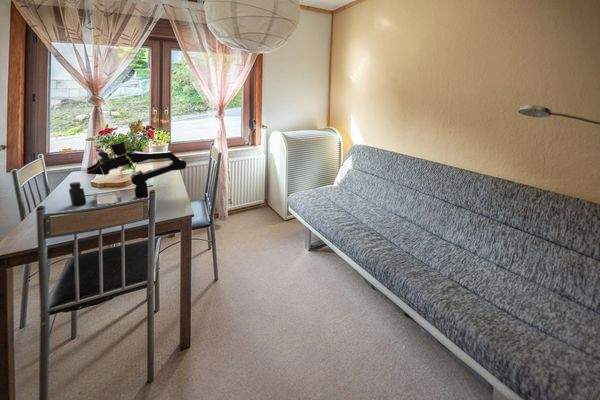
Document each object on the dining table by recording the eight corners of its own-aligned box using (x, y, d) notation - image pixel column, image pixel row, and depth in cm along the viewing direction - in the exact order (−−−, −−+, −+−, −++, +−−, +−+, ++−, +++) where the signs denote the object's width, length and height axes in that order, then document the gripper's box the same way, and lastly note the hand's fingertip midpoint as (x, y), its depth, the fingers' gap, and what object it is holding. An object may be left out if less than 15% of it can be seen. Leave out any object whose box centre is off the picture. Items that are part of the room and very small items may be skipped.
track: (120, 196, 201) (119, 190, 200) (121, 203, 189) (121, 197, 188) (94, 199, 195) (93, 193, 194) (94, 206, 183) (93, 200, 182)
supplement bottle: (83, 201, 191) (79, 180, 187) (88, 204, 187) (84, 183, 183) (69, 204, 186) (65, 183, 182) (74, 207, 182) (70, 185, 178)
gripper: (111, 146, 195) (81, 154, 189) (112, 151, 180) (80, 160, 173) (118, 164, 200) (89, 172, 193) (120, 170, 184) (89, 180, 178)
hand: (87, 171), depth 184 cm, fingers open, 9 cm apart
